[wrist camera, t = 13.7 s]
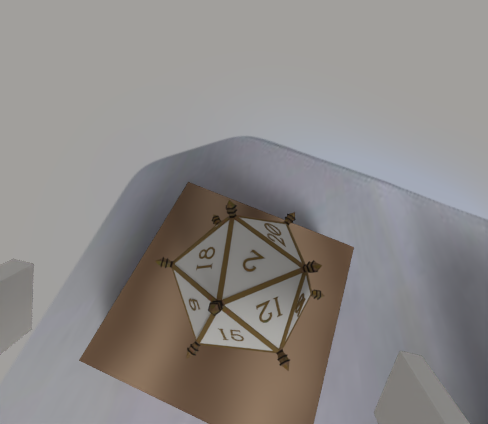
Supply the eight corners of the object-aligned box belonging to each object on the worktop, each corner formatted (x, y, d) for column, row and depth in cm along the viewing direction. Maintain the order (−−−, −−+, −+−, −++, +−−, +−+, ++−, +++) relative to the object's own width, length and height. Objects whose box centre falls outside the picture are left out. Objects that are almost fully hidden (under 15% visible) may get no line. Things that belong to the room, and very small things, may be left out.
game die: (216, 287, 24) (185, 171, 19) (325, 293, 21) (321, 161, 17) (165, 402, 16) (95, 253, 12) (326, 430, 14) (319, 257, 9)
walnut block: (327, 270, 28) (353, 247, 22) (281, 444, 21) (303, 469, 16) (193, 215, 29) (188, 181, 24) (110, 362, 23) (79, 360, 17)
